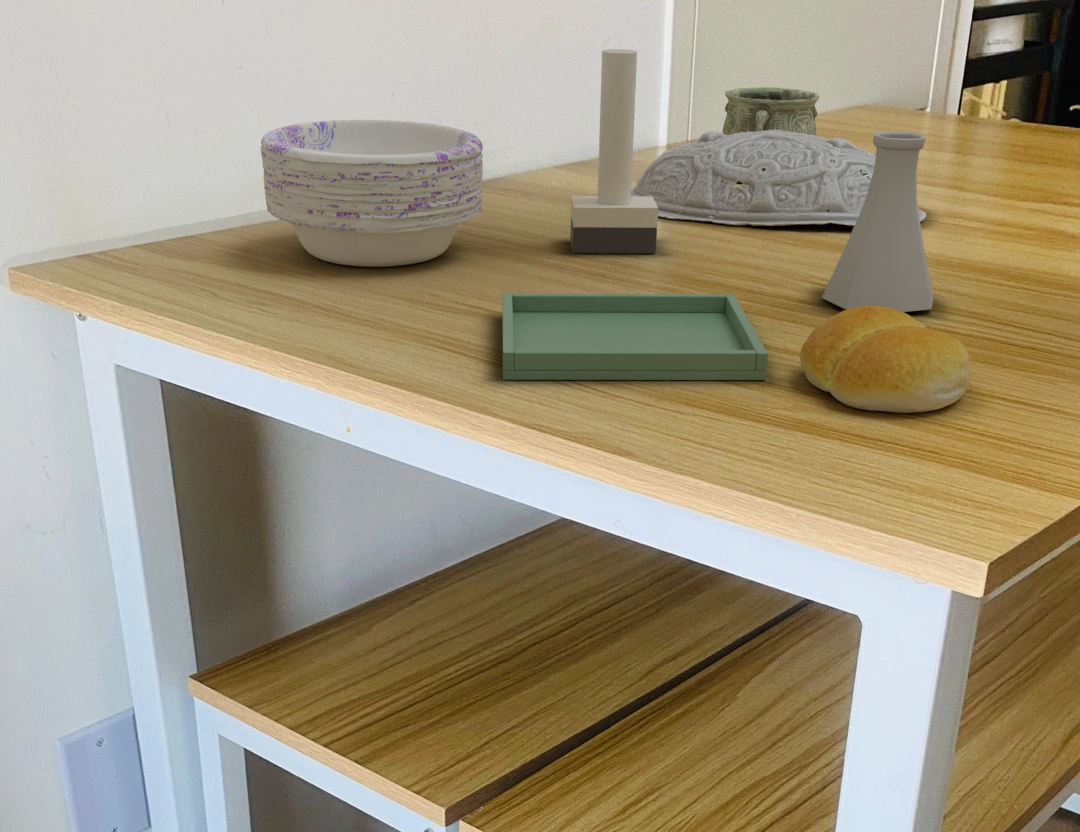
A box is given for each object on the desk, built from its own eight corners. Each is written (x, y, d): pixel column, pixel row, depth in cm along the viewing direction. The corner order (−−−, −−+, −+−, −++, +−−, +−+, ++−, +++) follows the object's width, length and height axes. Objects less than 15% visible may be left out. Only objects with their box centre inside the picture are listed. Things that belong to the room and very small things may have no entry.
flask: (833, 317, 85) (854, 144, 80) (810, 287, 91) (827, 125, 86) (949, 317, 85) (977, 145, 80) (917, 287, 91) (942, 126, 86)
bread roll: (870, 426, 68) (882, 346, 66) (775, 374, 75) (783, 300, 73) (1004, 406, 71) (1019, 328, 69) (900, 357, 78) (911, 286, 76)
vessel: (732, 152, 136) (738, 82, 132) (822, 158, 133) (830, 87, 130) (706, 173, 126) (711, 98, 123) (802, 179, 124) (810, 104, 120)
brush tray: (732, 318, 84) (734, 293, 84) (765, 380, 74) (768, 352, 73) (502, 317, 84) (502, 293, 83) (503, 380, 74) (502, 352, 73)
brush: (650, 241, 102) (660, 48, 95) (655, 253, 99) (666, 54, 92) (570, 241, 102) (574, 47, 95) (572, 253, 99) (577, 53, 92)
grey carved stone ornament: (920, 230, 103) (930, 133, 100) (598, 224, 110) (599, 133, 107) (930, 212, 116) (939, 126, 113) (643, 208, 123) (645, 126, 120)
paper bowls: (502, 274, 93) (501, 149, 89) (276, 284, 90) (264, 155, 86) (464, 226, 106) (462, 115, 102) (265, 233, 103) (254, 119, 99)
